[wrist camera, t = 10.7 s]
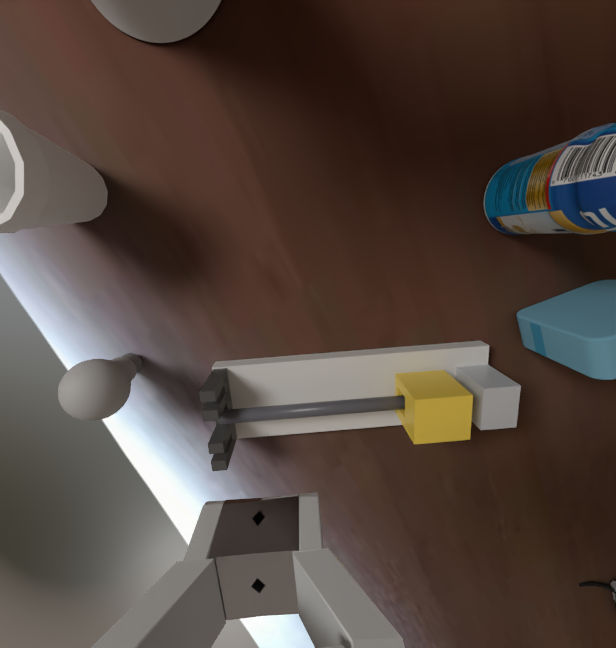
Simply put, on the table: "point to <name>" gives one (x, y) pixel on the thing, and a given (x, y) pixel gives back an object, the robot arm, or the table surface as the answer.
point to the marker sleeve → (434, 407)
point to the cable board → (342, 392)
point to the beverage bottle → (558, 188)
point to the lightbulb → (98, 386)
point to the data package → (575, 329)
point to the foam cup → (43, 181)
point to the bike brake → (614, 586)
